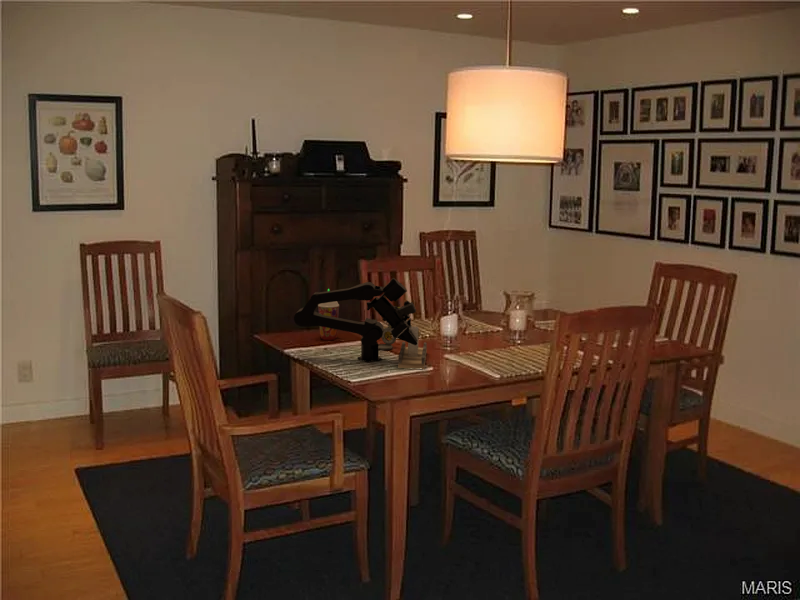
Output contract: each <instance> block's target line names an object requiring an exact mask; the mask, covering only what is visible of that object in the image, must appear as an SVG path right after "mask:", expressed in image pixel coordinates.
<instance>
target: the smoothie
mask: <svg viewBox="0 0 800 600" xmlns="http://www.w3.org/2000/svg"><path fill="white" fill-rule="evenodd" d="M327 291H330V288H328V289H327ZM317 307H318V309H317V311H318V313H319V314H321V315H326V316H331V317H336V318H339V314H340V313H339V311H340V304H339V301H335V302H328V303H321V304H318V306H317ZM318 327H319V336H320V337H321V340H324V341H334V340H336V339H337V337H338V331H339V330H337V329H331V328H326V327H321V326H318Z"/></svg>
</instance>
